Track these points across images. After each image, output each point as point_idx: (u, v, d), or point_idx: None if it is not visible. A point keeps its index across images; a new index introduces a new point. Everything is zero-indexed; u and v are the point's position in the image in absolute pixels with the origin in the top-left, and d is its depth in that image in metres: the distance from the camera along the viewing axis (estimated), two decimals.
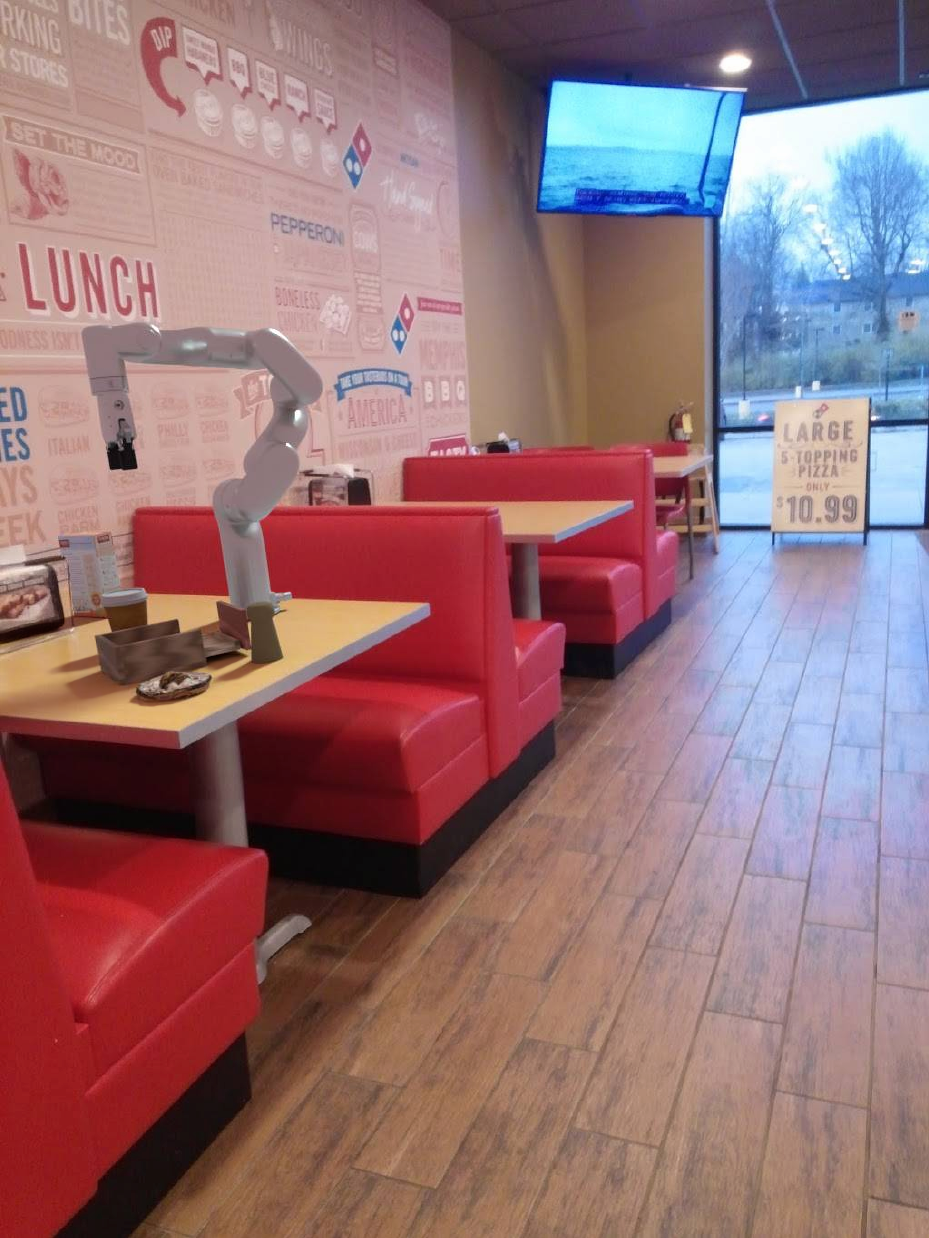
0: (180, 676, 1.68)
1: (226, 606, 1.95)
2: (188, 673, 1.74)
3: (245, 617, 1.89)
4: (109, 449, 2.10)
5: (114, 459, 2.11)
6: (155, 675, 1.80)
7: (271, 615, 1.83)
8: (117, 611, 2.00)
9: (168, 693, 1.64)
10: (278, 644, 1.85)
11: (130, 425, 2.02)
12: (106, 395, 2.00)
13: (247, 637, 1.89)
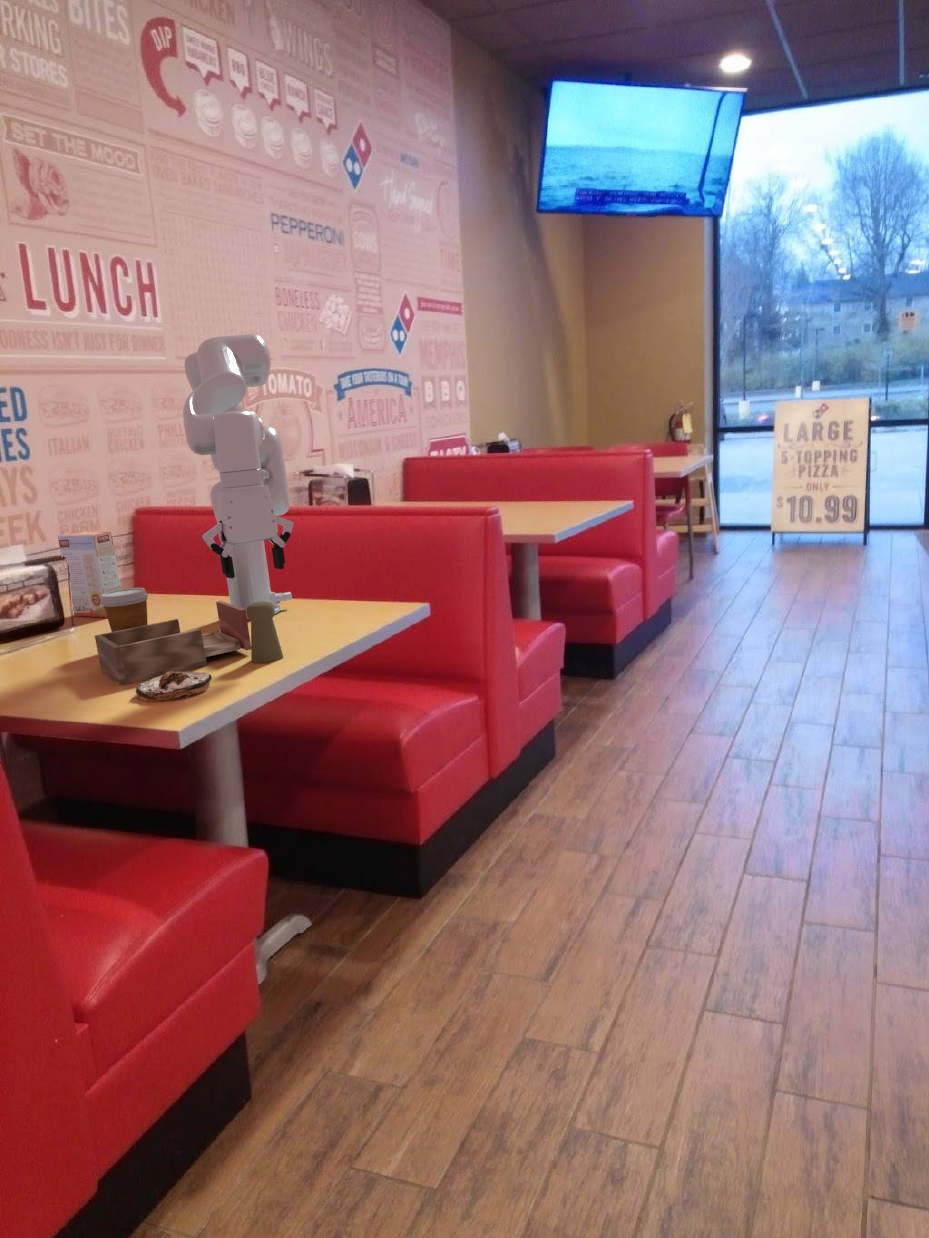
0: (180, 675, 1.68)
1: (226, 606, 1.95)
2: (188, 673, 1.74)
3: (245, 617, 1.89)
4: None
5: None
6: (155, 675, 1.80)
7: (271, 615, 1.83)
8: (117, 611, 2.00)
9: (168, 693, 1.64)
10: (278, 644, 1.85)
11: None
12: (266, 487, 1.79)
13: (247, 637, 1.89)
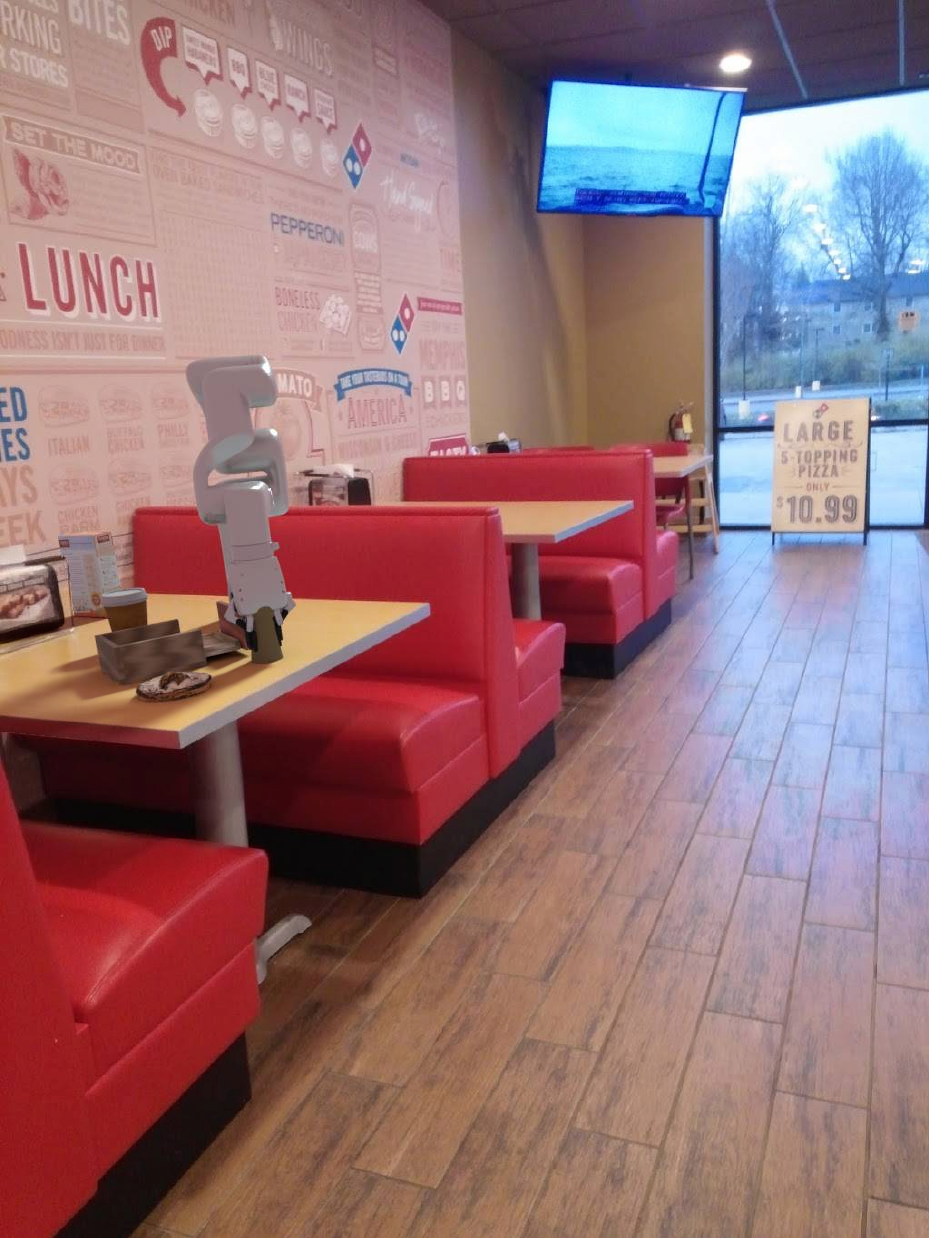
0: (180, 676, 1.68)
1: (226, 606, 1.95)
2: (188, 673, 1.74)
3: None
4: None
5: None
6: (155, 675, 1.80)
7: (271, 615, 1.83)
8: (117, 611, 2.00)
9: (168, 693, 1.64)
10: (278, 644, 1.85)
11: None
12: (276, 559, 1.82)
13: None
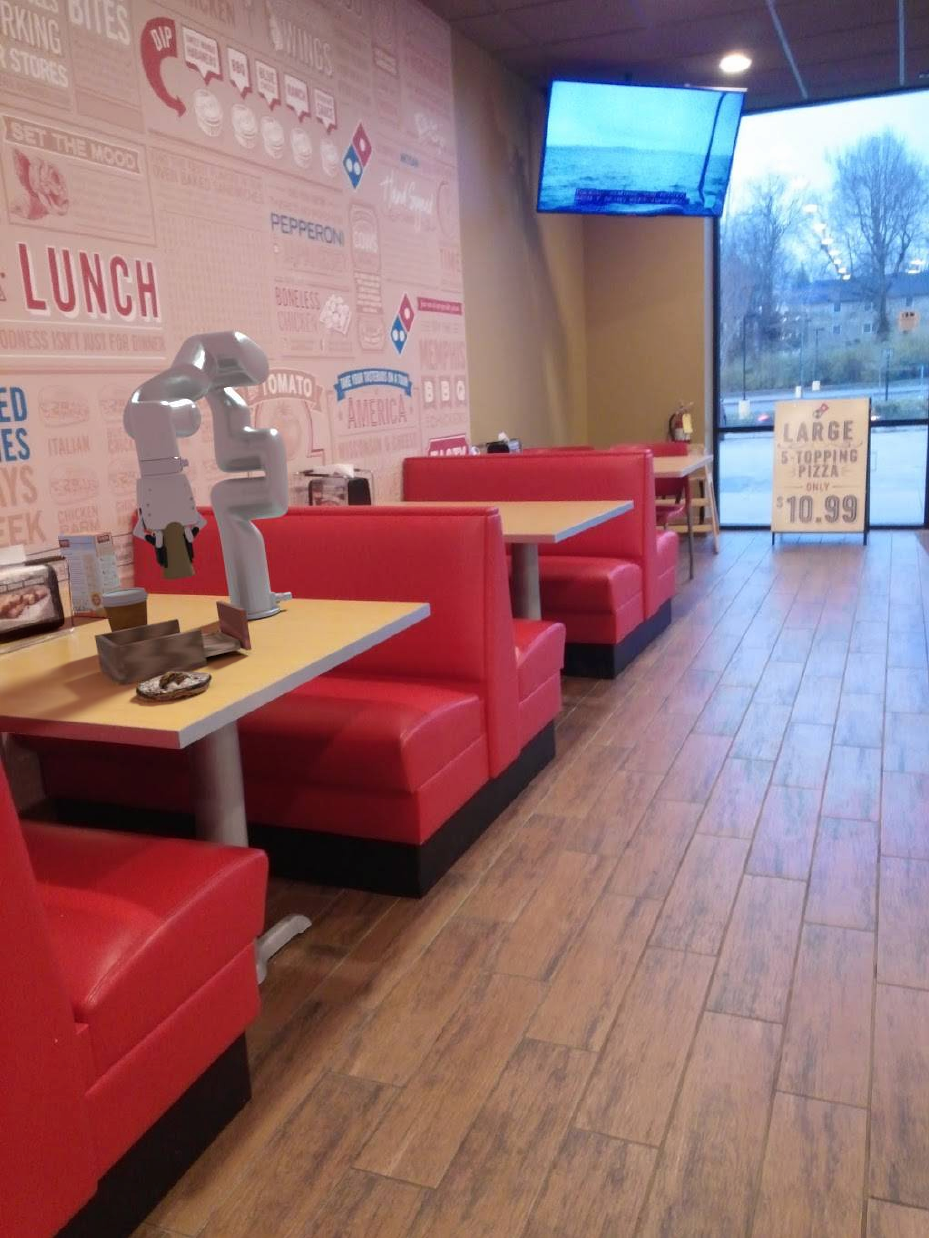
0: (180, 675, 1.68)
1: (226, 606, 1.95)
2: (188, 673, 1.74)
3: (245, 617, 1.89)
4: (161, 543, 1.84)
5: None
6: (155, 675, 1.80)
7: (181, 531, 1.84)
8: (117, 611, 2.00)
9: (168, 693, 1.64)
10: (189, 561, 1.86)
11: None
12: (185, 475, 1.83)
13: (247, 637, 1.89)
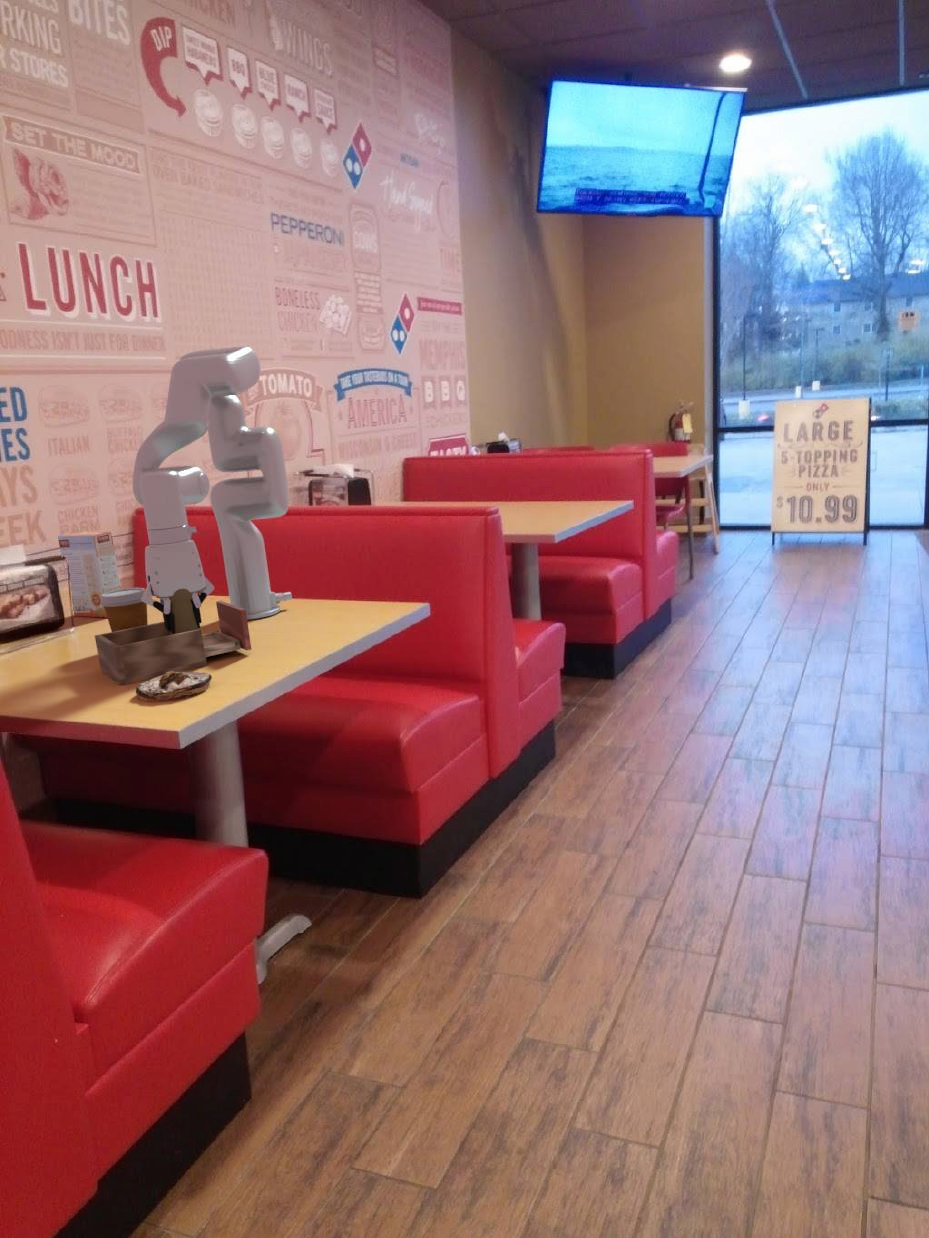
0: (180, 675, 1.68)
1: (226, 606, 1.95)
2: (188, 673, 1.74)
3: (245, 617, 1.89)
4: (169, 609, 1.86)
5: None
6: (155, 675, 1.80)
7: (189, 598, 1.87)
8: (117, 611, 2.00)
9: (168, 693, 1.64)
10: (196, 626, 1.89)
11: None
12: (193, 543, 1.86)
13: (247, 637, 1.89)
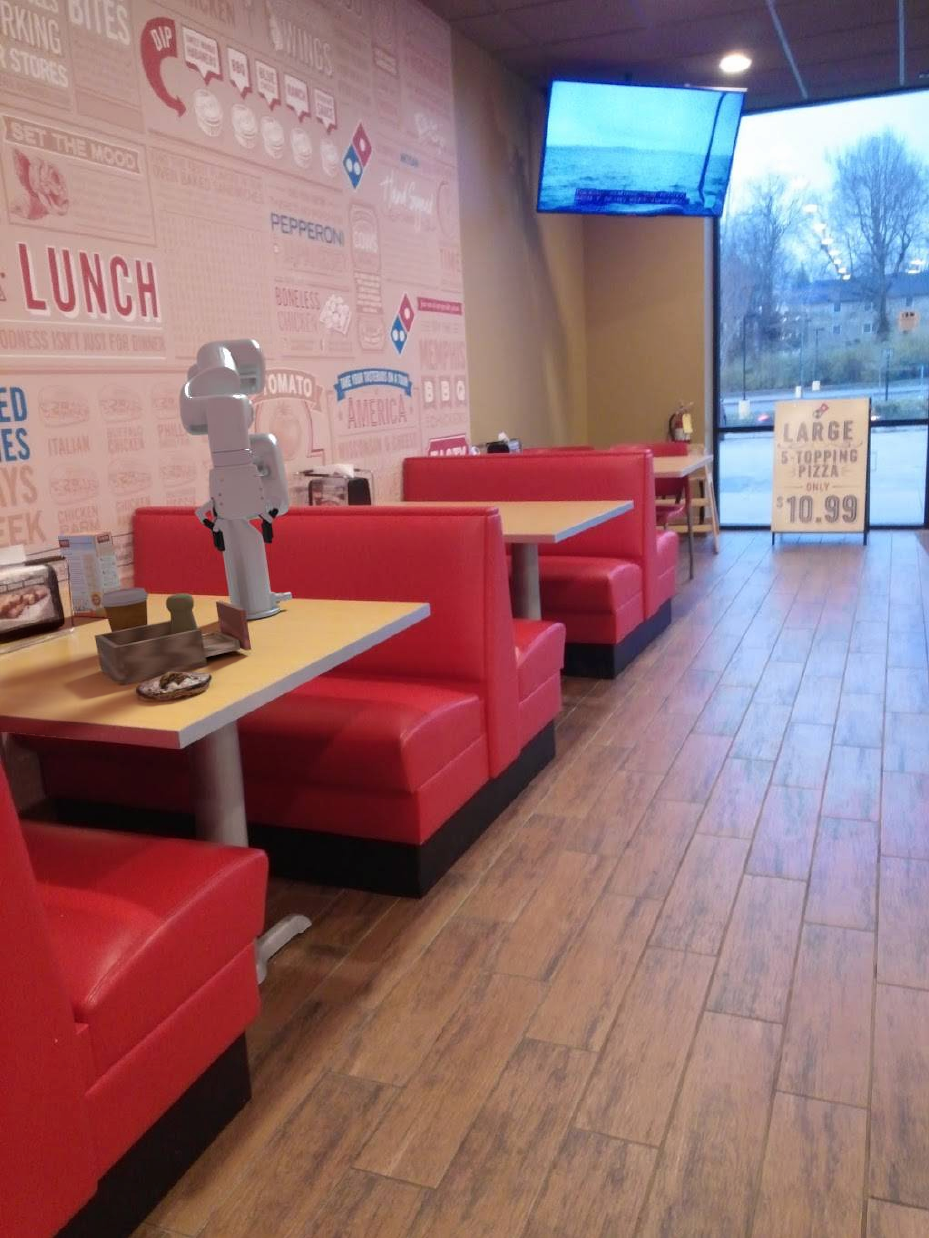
0: (180, 676, 1.68)
1: (226, 606, 1.94)
2: (188, 673, 1.74)
3: (245, 617, 1.89)
4: (219, 529, 1.90)
5: None
6: (155, 675, 1.80)
7: (190, 607, 1.88)
8: (117, 611, 2.00)
9: (168, 693, 1.64)
10: None
11: None
12: (255, 466, 1.91)
13: (247, 637, 1.89)
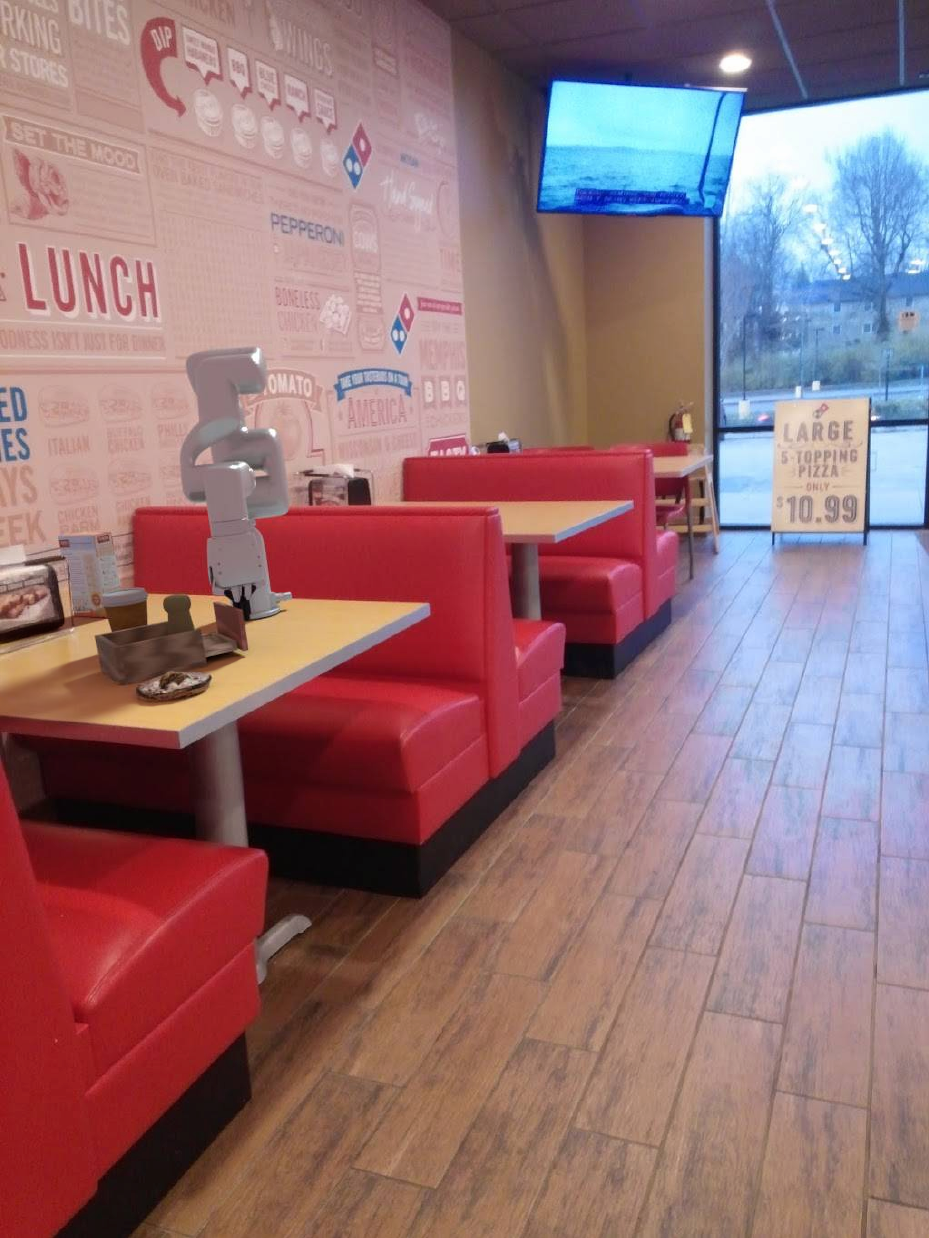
0: (180, 676, 1.68)
1: (223, 607, 1.94)
2: (188, 673, 1.74)
3: (242, 618, 1.88)
4: (239, 596, 1.94)
5: None
6: (155, 675, 1.80)
7: (187, 607, 1.87)
8: (117, 611, 2.00)
9: (168, 693, 1.64)
10: None
11: None
12: (253, 535, 1.93)
13: (244, 638, 1.89)
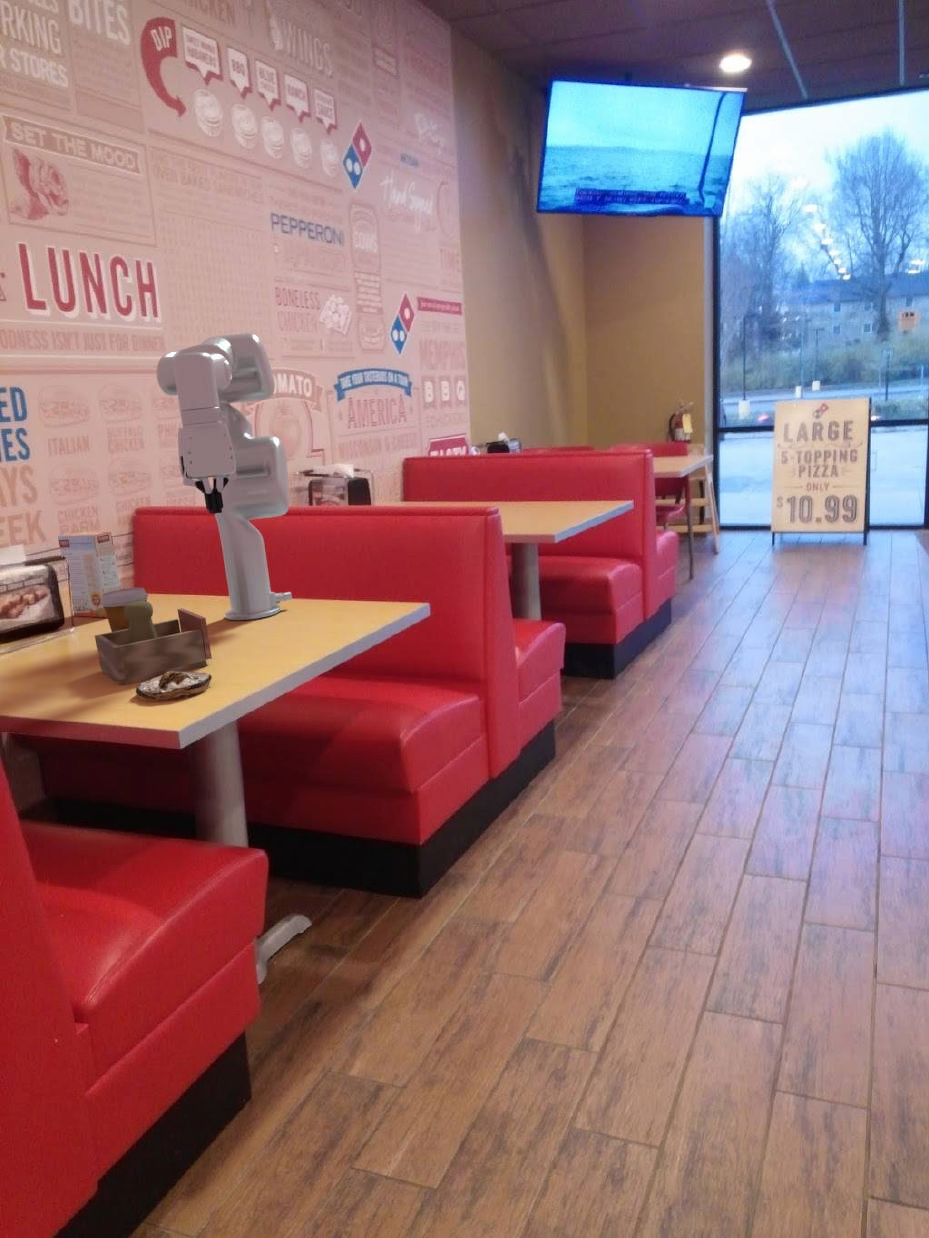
0: (180, 675, 1.68)
1: (187, 614, 1.90)
2: (189, 673, 1.74)
3: (205, 625, 1.84)
4: (210, 488, 1.92)
5: None
6: (155, 675, 1.80)
7: (149, 615, 1.83)
8: (117, 611, 2.00)
9: (167, 693, 1.64)
10: None
11: None
12: (225, 425, 1.91)
13: (207, 646, 1.85)
